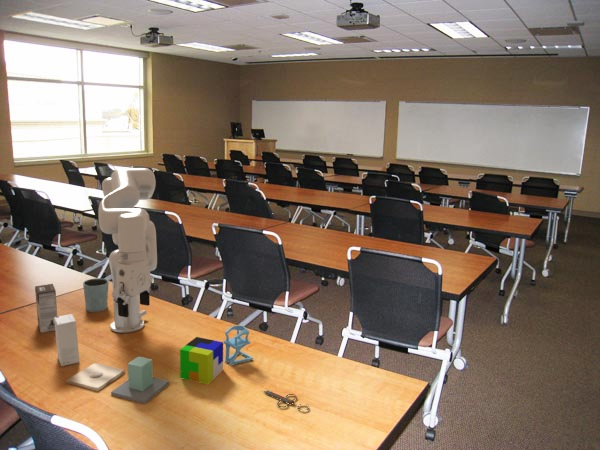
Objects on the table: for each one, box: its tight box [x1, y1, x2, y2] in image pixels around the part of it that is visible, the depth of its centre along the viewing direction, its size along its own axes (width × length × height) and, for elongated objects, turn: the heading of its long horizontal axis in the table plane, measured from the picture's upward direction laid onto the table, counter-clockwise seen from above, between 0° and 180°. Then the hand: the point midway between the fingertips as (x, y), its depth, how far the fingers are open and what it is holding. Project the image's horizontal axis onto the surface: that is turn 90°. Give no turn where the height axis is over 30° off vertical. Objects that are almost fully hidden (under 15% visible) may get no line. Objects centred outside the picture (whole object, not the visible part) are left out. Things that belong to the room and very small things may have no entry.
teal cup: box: [82, 277, 110, 313], centre depth 207 cm, size 10×10×12 cm
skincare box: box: [54, 313, 81, 367], centre depth 162 cm, size 8×6×15 cm
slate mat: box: [110, 376, 170, 405], centre depth 148 cm, size 12×12×1 cm
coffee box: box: [34, 283, 58, 334], centre depth 187 cm, size 9×6×16 cm
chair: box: [223, 325, 254, 366], centre depth 167 cm, size 8×8×12 cm
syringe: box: [263, 390, 310, 411], centre depth 145 cm, size 8×18×2 cm, turn 56°
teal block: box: [127, 356, 154, 392], centre depth 147 cm, size 5×5×8 cm
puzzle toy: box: [179, 336, 224, 385], centre depth 157 cm, size 10×10×10 cm
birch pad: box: [66, 362, 126, 392], centre depth 153 cm, size 12×12×1 cm
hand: (134, 310), depth 145 cm, fingers open, 9 cm apart
